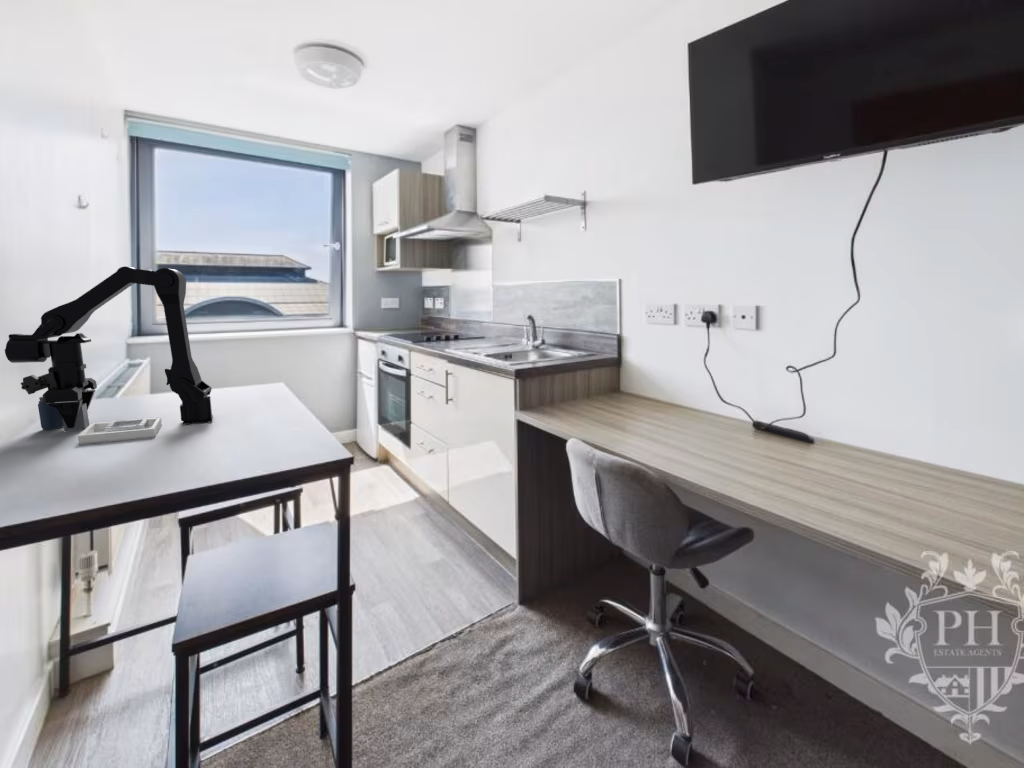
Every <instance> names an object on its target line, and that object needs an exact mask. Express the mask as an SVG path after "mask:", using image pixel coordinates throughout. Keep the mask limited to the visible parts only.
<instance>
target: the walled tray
mask: <svg viewBox="0 0 1024 768" xmlns="http://www.w3.org/2000/svg"><path fill="white" fill-rule="evenodd" d="M147 419H148V422H149V429H138V430H127V431H117V432H106V433H105V427H106V426H107V425H108V424H109V423H110V422H111V421H107V422H105V421H104V422H94V423H89V426H88V427H87V428H86V429H85V430H82V431H81V432H80V433H79V434H78V435H77V438H78V439H77V440H78V441H77V442H78V445H86V444H87V445H89V444H96V443H97V444H98V443H107V442H116V441H117V442H119V441H128V440H138V439H146V438H147V439H149V438H155V437H156V436H157V434H158V433H159V431H160V429H161V428H162V426H163V424H162V423H163V422H162V417H153V418H152V417H151V418H147Z"/></svg>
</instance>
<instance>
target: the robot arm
mask: <svg viewBox="0 0 1024 768" xmlns="http://www.w3.org/2000/svg"><path fill="white" fill-rule="evenodd" d="M134 284H139V285H145V286H153V287H154V290H155V293H156V295H157V296H158V298H159V300H160V302H161V303H162V306H163V311H164V316H165V322H166V328H167V329H166V330H167V336H168V340H169V341H168V342H169V347H170V348H169V349H170V353H171V366H169V367H166V368H164V373H165V374H164V375H165V376H166V386H168V385H169V388H170V390H171V391H172V392H173V393H174V394H176V395H177V396H178V397H179V399H180V401H181V404H180V406H179V412H180V419H181V422H182V424H183V425H191V424H202V423H203V424H204V423H211V422H212V423H213V419H214V414H213V410H212V401H211V400H212V399H211V398H212V397H211V395H210V394H211V392H212V389H213V388H212V386H210V385H209V384H207V383H206V382H205V381H203V380H202V377H201V373H200V372H199V369H198V366H197V365H196V363H195V361H194V360H193V356H192V350H191V346H190V337H189V332H188V326H187V319H186V318H187V317H186V313H185V312H186V311H185V308H184V306H185V305H184V303H185V299H186V293H187V278H186V276H185V275H184V274H183V273H182V272H181V271H179V270H177V269H172V268H165V267H163V268H159V269H156V270H154V271H153V270H147V269H142V268H141V269H139V268H135V267H133V266H132V267H131V266H121V267H119V268H118V269H117V270H116V271H115V272H114V273H112V274H111V275H110V276H108V277H106V278H105V279H104V280H102V281H101V282H99V283H98V284H96V285H95V286H93V287H92V288H91V289H89V290H88V291H86V292H85V293H83V294H81V296H79V297H78V298H76V299H74V300H72V301H70V302H66V303H64V304H61V305H58V306H57V307H54V308H52V309H49V310H48V311H47V310H46V311H45V312H43V314H42V315H41V317H40V324H39V326H38V327H37V328H36V329H35V330H34V332H33V333H32V334H22V333H11V334H9V335H8V340H7V342H6V344H5V348H4V353H5V357H6V359H7V360H8V361H9V362H10V363H13V364H15V363H16V364H20V363H21V364H22V363H25V364H26V363H45V362H46V361H47V360H48V359H49V358H50V361H51V367H49V368H48V369H47V370H48V371H47V372H48V373H45V374H42V375H38V376H37V375H35V374H31V375H28V376H24V377H23V378H22V382H20V385H21V390H25V392H26V393H27V394H28V395H32V394H35V393H37V392H38V391H42V390H44V389H46V388H47V390H46V391H45V392H44V393H43V394H42V397H43V402H44V403H46V404H47V405H51V406H53V407H55V408H57V409H58V411H59V413H60V414H61V416H62V418H63V420H64V422H65V424H66V425H67V427H68V428H74V426H75V423H76V420H77V417H78V413H79V410H80V407H81V404H82V403H86V404H87V412H89V411H88V410H89V409H90V405H91V403H92V400H93V398H94V396H95V394H96V389H97V388H98V387H97V381H96V380H95V379H93V378H92V377H87V378H86V373H85V369H87V364H86V363H84V359H83V351H82V350H83V349H82V344H86V343H91V342H92V339H91V338H90V337H88V336H86V335H85V334H83V333H82V332H78V331H79V330H80V329H81V328H82V327H83V326H84V325H85V324H86V323H87V322H88V320H89V319H90V318H91V316H92V314H94V312H96V311H97V310H98V309H99V308H101V307H102V306H104V305H105V304H107V303H108V302H110V301H111V300H113V299H114V298H116V297H117V296H118V295H119V294H121V293H123V292H125V290H126V289H129V288H130V287H131V286H133V285H134ZM76 332H77V333H76ZM73 333H75V335H64V334H73ZM63 335H64V336H63ZM57 337H58V338H57ZM51 338H52V339H51ZM53 338H57V339H55V340H53ZM50 339H51V340H50ZM48 387H50V389H49V390H48Z"/></svg>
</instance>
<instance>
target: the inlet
mask: <svg viewBox="0 0 1024 768" xmlns="http://www.w3.org/2000/svg"><path fill="white" fill-rule="evenodd" d="M148 419H149V418H135V419H125V420H115V421H109V422H110V423H109V424H108V425H107V426H106V427H105V433H106V432H117V431H127V430H138V429H149V422H148Z"/></svg>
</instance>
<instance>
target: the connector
mask: <svg viewBox="0 0 1024 768" xmlns="http://www.w3.org/2000/svg"><path fill="white" fill-rule="evenodd" d="M88 412H89V411H87V404H86V403H82V404H81V407H80V410H79V413H78V417H77V420H76V423H75V426H74V428H68V427H67V425H66V424H65V422H64V420H63V418H62V420H63V427H62V428H63V432H64V431H65V432H74V431H75V432H76V431H84V430H85V429H86V428H87V427H88V426H89V425H90V421H89V420H90V419H89V414H88Z"/></svg>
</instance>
